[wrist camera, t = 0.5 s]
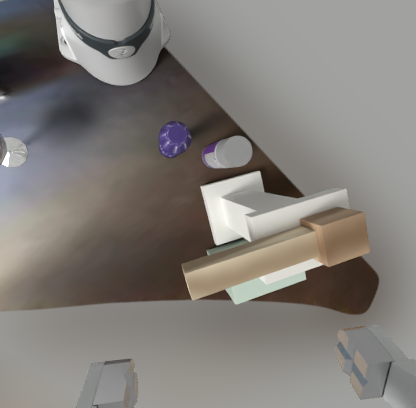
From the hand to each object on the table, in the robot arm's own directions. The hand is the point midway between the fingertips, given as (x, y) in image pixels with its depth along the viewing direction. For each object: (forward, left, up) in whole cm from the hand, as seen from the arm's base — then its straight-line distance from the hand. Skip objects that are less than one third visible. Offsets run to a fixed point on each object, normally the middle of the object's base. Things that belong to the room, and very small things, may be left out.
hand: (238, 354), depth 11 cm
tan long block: (+4, +9, -18) cm, 21 cm away
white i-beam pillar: (+4, +14, -44) cm, 47 cm away
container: (-7, +12, -44) cm, 47 cm away
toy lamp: (-11, +4, -44) cm, 46 cm away
